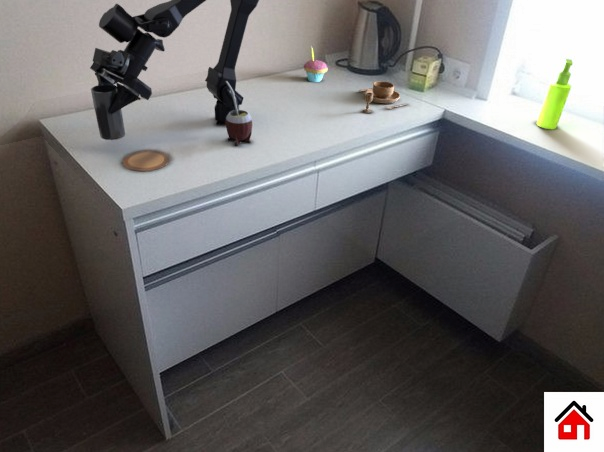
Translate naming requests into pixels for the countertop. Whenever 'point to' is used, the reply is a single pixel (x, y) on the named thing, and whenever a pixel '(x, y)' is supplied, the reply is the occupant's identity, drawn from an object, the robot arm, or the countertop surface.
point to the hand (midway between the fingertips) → (102, 109)
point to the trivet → (145, 160)
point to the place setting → (381, 94)
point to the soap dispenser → (555, 98)
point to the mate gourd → (238, 124)
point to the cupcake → (315, 69)
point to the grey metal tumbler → (107, 123)
